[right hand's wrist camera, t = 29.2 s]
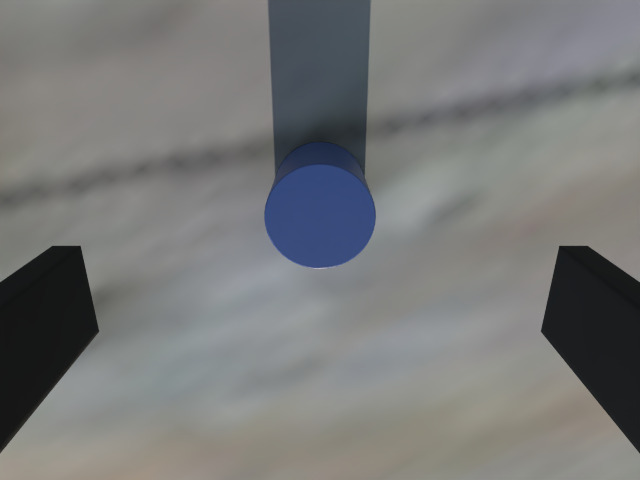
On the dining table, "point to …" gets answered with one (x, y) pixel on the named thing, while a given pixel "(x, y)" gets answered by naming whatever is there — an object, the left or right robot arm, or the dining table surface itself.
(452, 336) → the dining table surface
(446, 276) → the dining table surface
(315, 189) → the can
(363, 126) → the dining table surface
